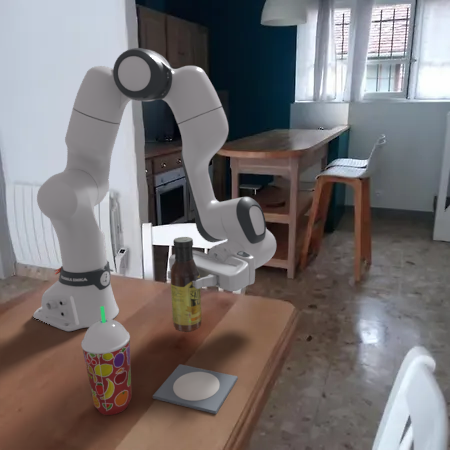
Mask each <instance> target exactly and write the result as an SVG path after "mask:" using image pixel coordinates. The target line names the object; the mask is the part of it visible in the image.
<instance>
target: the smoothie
mask: <svg viewBox="0 0 450 450" xmlns="http://www.w3.org/2000/svg"><path fill="white" fill-rule="evenodd" d="M100 309H101V318H102V320H99V321H97V322H95V323H93V324H92V325H91V326H90V327H87V330H86V332H85V334H84V337H83V338H82V340H81V343H80V345H81V348H82V353H83V357H84V362H85V363H84V364H85V367H86V372H87V377H88V382H89V386H90V391H91V397H92V401H93V406H94V408H96V409H97V411H98V412H99V413H100V414H103V415H106V416H112V415H116V414H120V413H121V412H123V411H125V410H126V409H127V408H128V406H129V404H130V401H131V400H132V373H131V371H132V369H131V340H130V339H131V334H130V333H129V331H127V329H126V327H124V325H122V323H120V322H119V321H117V320H116V319H105V311H104V306H101V307H100Z"/></svg>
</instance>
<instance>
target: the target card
mask: <svg viewBox="0 0 450 450" xmlns="http://www.w3.org/2000/svg"><path fill="white" fill-rule="evenodd" d="M238 379H239V377H238V376H237V375H234V374H233V375H232V374H227V373H224V372H223V373H222V372H218V371H215V370H208V369H204V368H199V367H195V366H191V365H184V364H178V366H177V367H176V368H175V369H174V370H173V372H172V373H171V374H170V375H169V376H168V377H167V379H166V380H164V382H163V383H162V384H161V386H160V387H159V388H158V389H157V390H156V391H155V392H154V393H153V394H152V399H153V400H158V401H162V402H167V403H170V404H175V405H178V406H182V407H187V408H189V409H195V410H199V411H202V412H206V413H210V414H213V415H217V413H218V412H219V410H220V409H221V407H222V406H223V404H224V402H225V400H227V397H228V396H229V394H230V392H231V391H232V390H233V387H234V386H235V384H236V382H237V381H238Z"/></svg>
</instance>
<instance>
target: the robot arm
mask: <svg viewBox="0 0 450 450" xmlns="http://www.w3.org/2000/svg"><path fill="white" fill-rule="evenodd" d="M132 100H133V101H139V102H154V101H157V100H158V101H159V100H162V101H164V102H165V103H167V105H168V107H170V109H171V111H172V114H173V115H174V119H175V121H176V124H177V126H178V129H179V133H180V135H181V141H182V142H181V143H182V149H181V153H180V157H181V164H182V168H183V173H184V178H185V179H186V184H187V187H188V192H189V195H190V199H191V202H192V206H193V210H194V220H195V226H196V227H195V228H196V229H197V232H198V234H199V236H201V238H203V240H204V241H206V242H209V243H218V242H221V243H218V244H216V245H213V246H212V247H210V249H209V251H208V253H206V252H202V251H198V250H195V249H192V250H193V259H194V262H195V264H196V266H197V269H198V271H199V274H200V278H198V277H197V278H195V279H193V280H192V287H194V288H196V289H199V288H200V289H201V288H205V287H208V288H209V287H217V288H219V289H222V290H225V291H228V292H237V291H239V290H240V291H241V290H242V289H244V288H245V287H247V286H251V285H253V284H254V283H255V279H256V278H255V277H256V270H257V269H258V268H260V267H262V266H263V265H265V264H267V263H268V262H269V261H271V259H272V257H274V255H275V253H276V250H277V240H276V237H275V236H274V234H273V233H272V232H271V231H270V230H269V229H267V222H266V218H265V214H264V210H263V209H262V207H261V205H260V204H259V203H258V202H257V200H255V199H253V198H252V197H250V196H242V197H237V198H232V199H228V200H224V201H219V200H218V199H216V197H215V193H214V189H213V185H212V181H211V178H210V173H209V165H210V162H211V159H212V158H213V157H214V156H215V154H216V153H217V152H219V151H220V149H222V147H223V145H224V144H225V143H226V141H227V139H228V135H229V122H228V119H227V115H226V112H225V110H224V108H223V105H222V103H221V100H220V98H219V96H218V93H217V91H216V89H215V87H214V85H213V84H212V82H211V80H210V79H209V76H208V75H207V74H206V72H205V70H204V69H203V68H201V67H199V66H196V65H185V66H181V67H179V68H173V66H172V64H171V62H170V61H169V60H168V59H167V58H166V57H164V56H163V55H162V54H160V53H158V52H156V51H154V50H152V49H146V48H142V47H134V48H130V49H127V50H125V51H123V52H122V53H121V54H120V55H119V56H118V57H117V58H116V60H115V62H114V64H113V67H109V66H105V65H104V66H102V65H97V66H93V67H91V68H89V69H88V70H87V71H86V72H85V75H84V77H83V79H82V81H81V84H80V86H79V88H78V91H77V93H76V96H75V99H74V101H73V102H74V103H73V106H72V110H71V114H70V118H69V122H68V125H67V130H66V133H65V137H64V142H65V145H66V150H67V151H66V152H67V155H66V156H67V157H66V166H65V168H64V170H63V171H61V172H58V173H56V174H54V175H52V176H50V177H48V179H46V181H44V182H43V184H42V185H41V186H40V187H39V188H38V190H37V194H36V202H37V205H38V206H37V207H38V208H39V210H40V211H41V213H42V214H43V215H44V216H45V217H46V218H48V219H49V220H50V222H51V226H53V229H54V231H55V234H56V237H57V239H58V245H59V252H60V258H61V266H60V267H59V268H57V269H55V270H54V272H55V273H54V275H57V274H59V275H58V280H56V282H54V283H53V284H52V285H51V286H49V287H48V288H47V289H46V290H45V292H43V294H42V296H41V306H40V307H39V308H37V309H36V311H34V313H33V317H34V318H36V319H39V320H41V321H43V322H42V323H44V322H45V324H46V323H47V325H49V324H50V326H52V327H54V328H57V329H59V330H63V331H65V332H72V331H76V330H79V329H80V330H81V329H85V328H89V327H90V326H91V325H92V324H93V323H95V322H97V321H99V320H102V318H101V309H100V307H101V306H104V311H105V319H112V320H114V319H115V318H116V317H117V316H118V315H119V313H120V309H119V305H118V304H117V302H116V299H115V296H114V292H113V288H112V283H111V267H110V262H109V260H108V256H107V246H106V237H105V233H104V232H103V230H102V229H101V228H100V226H99V224H98V221H97V219H96V214H95V207H97V205H99V204H100V203H102V202H103V200H104V198H105V197H106V195H107V194H108V192H109V188H110V181H109V179H110V170H111V161H112V154H113V150H114V146H115V144H116V139H117V137H118V133H119V129H120V125H121V122H122V118H123V114H124V112H125V109H126V107H127V105H128V104H129V102H130V101H132ZM225 240H226V241H225ZM222 241H224V242H222ZM174 262H175V253H174V254H172V255H170V256H169V257H168V264H169V265H168V266H169V271H167V279H169V280H171V268H172V265H173V264H174ZM33 317H32V318H33ZM34 318H33V319H34ZM36 319H35V320H36ZM39 320H38V321H39ZM41 321H40V322H41Z"/></svg>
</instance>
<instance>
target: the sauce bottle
mask: <svg viewBox="0 0 450 450" xmlns="http://www.w3.org/2000/svg"><path fill="white" fill-rule="evenodd" d="M193 246H194V241H193V238H192V237H189V236H181V237H175V238H174V239H173V247H174V254H175V262H174V264H173V265H172V268H171V279H170V294H171V295H170V297H171V311H172V322H173V327H174V329H175V330H176V331H178V332H181V333H183V332H184V333H191V332H194V331H196V330H198V329H199V328H200V327H201V326H202V319H203V318H202V317H203V316H202V299H201V298H202V297H201V293H202V292H201V288H199V289H196V288H194V287H192V280H193V279H195V278H197V277H198V278H200V274H199V271H198V269H197V266H196V264H195V262H194V259H193V250H194V249H193Z"/></svg>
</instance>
